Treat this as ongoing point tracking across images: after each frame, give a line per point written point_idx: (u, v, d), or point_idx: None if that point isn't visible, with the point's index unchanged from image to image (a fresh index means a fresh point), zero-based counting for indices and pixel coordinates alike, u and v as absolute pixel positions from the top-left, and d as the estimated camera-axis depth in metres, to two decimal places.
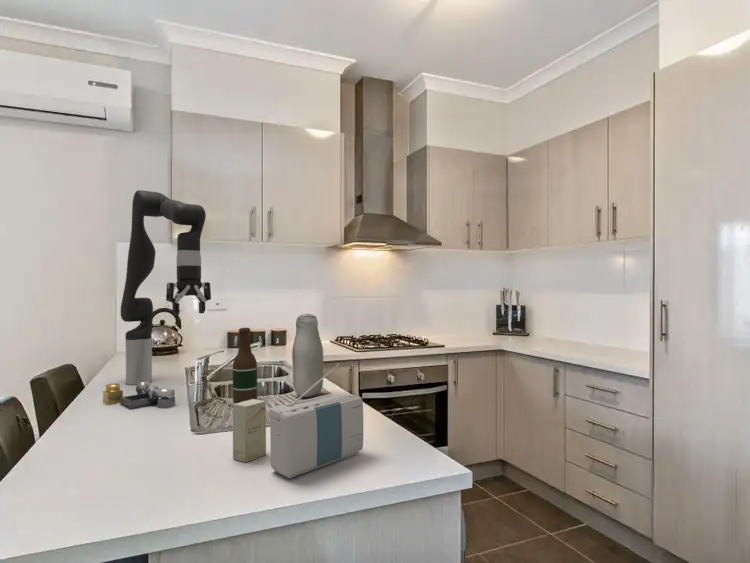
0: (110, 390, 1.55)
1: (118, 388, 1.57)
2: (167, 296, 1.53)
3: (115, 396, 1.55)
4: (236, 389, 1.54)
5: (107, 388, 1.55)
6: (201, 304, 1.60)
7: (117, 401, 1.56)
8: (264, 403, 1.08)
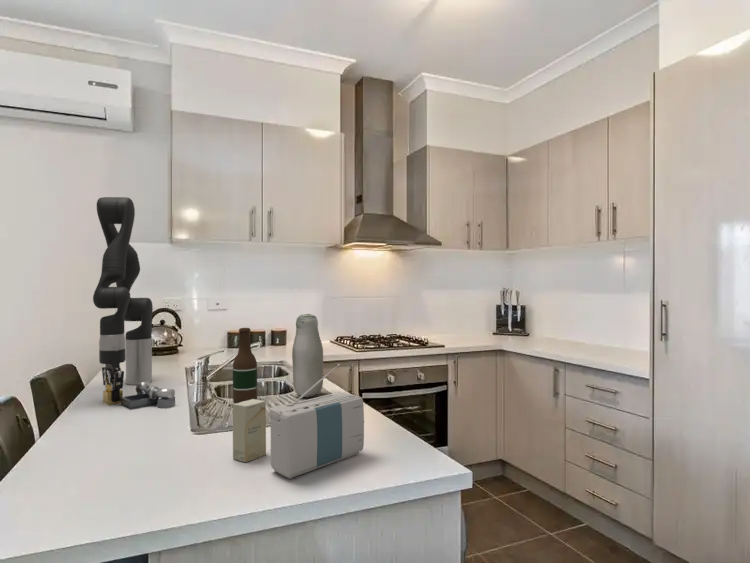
0: (110, 390, 1.55)
1: None
2: (115, 385, 1.53)
3: None
4: (236, 389, 1.54)
5: (107, 388, 1.55)
6: None
7: None
8: (264, 403, 1.08)
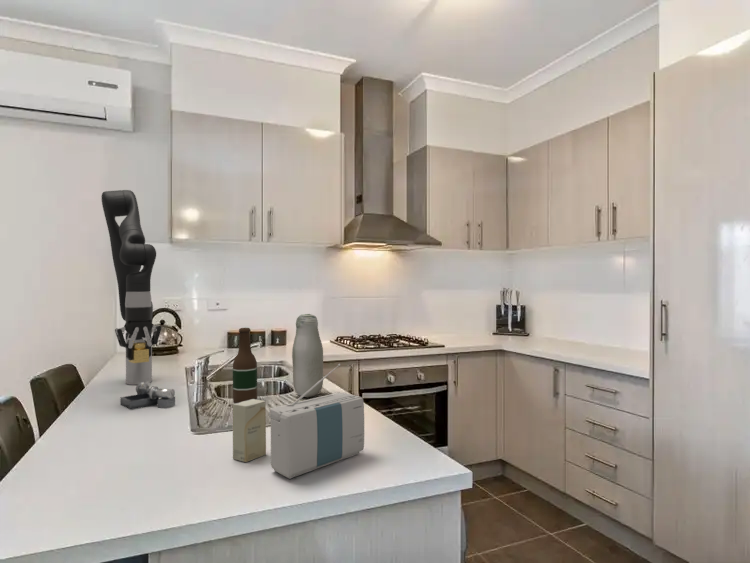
0: (145, 347, 1.55)
1: None
2: None
3: None
4: (236, 389, 1.54)
5: (143, 345, 1.54)
6: None
7: None
8: (264, 403, 1.08)
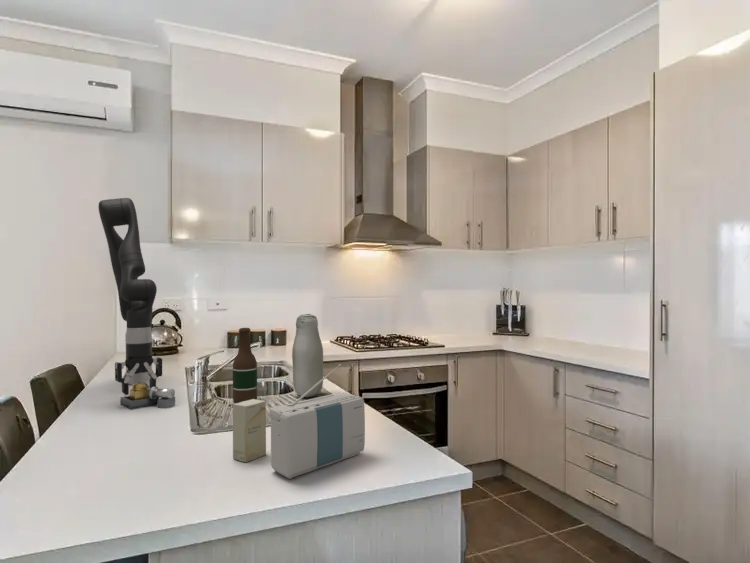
0: None
1: None
2: None
3: None
4: (236, 389, 1.54)
5: (144, 386, 1.54)
6: None
7: None
8: (264, 403, 1.08)
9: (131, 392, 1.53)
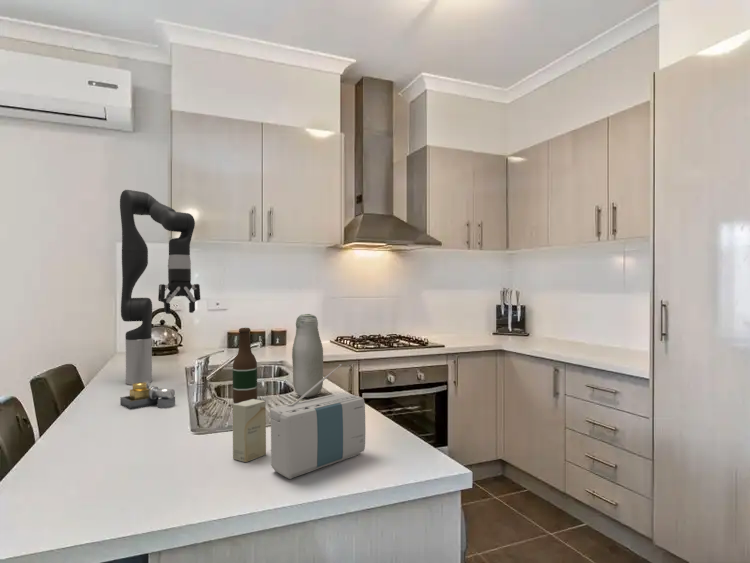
0: None
1: None
2: None
3: None
4: (236, 389, 1.54)
5: (144, 386, 1.54)
6: None
7: None
8: (264, 403, 1.08)
9: (131, 392, 1.53)
